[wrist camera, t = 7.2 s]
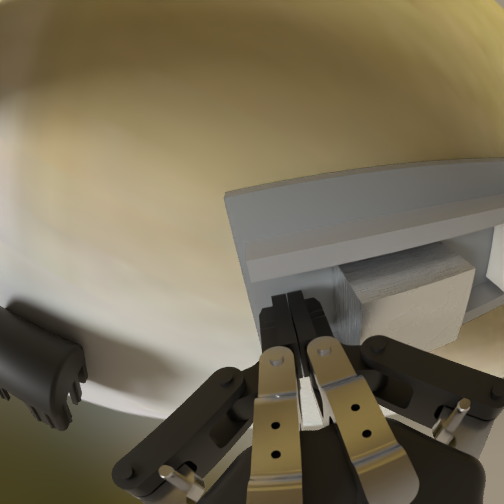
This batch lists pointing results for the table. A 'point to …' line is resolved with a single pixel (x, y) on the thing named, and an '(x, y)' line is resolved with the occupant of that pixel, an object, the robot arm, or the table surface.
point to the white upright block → (497, 258)
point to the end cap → (40, 369)
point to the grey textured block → (404, 296)
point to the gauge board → (365, 226)
